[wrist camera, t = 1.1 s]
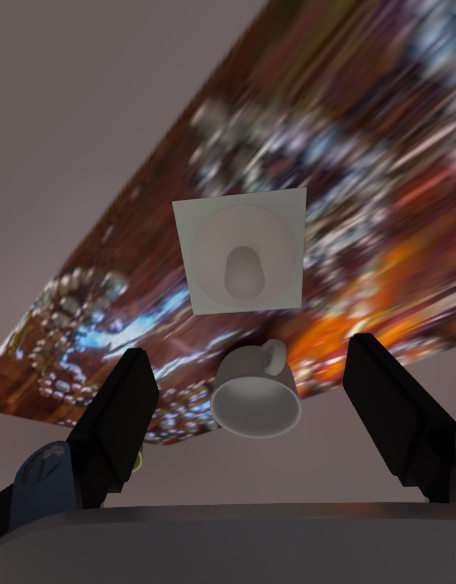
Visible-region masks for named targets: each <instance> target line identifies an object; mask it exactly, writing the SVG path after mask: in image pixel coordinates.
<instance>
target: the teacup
mask: <svg viewBox="0 0 456 584" xmlns="http://www.w3.org/2000/svg"><path fill="white" fill-rule="evenodd" d="M286 355H287V351H286V346H285V344H284V343H283V342H282V341H281V340H277V339H270V340H268V341H267V342H266V343H265V344H262V346H254V345H252V346H244V347H240V348H237V349H235V350H233V351H232V352H230V353H229V354H228V355H227V356H226V357H225V358H224V359H223V361H222V362H221V364H220V366H219V369H218V372H217V376H216V380H215V384H214V389H213V394H212V396H211V399H210V410H211V413H212V415H213V417H214V419H215V420H216V421H217V422H218V423H219V424H220V425H221V426H222V427H223V428H225V429H227V430H228V431H230V432H232V433H235V434H237V435H239V436H243V437H248V438H257V439H262V438H271V437H275V436H278V435H281V434H283V433H286V432H288V431H289V430H291V429H292V428H293V427H294V426H295V425H296V424H297V423H298V421H299V420H300V417H301V414H302V405H301V401H300V399H299V397H298V393H297V389H296V385H295V381H294V378H293V374H292V372H291V369H290V367H289V365H288V363H287V362H286Z"/></svg>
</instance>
